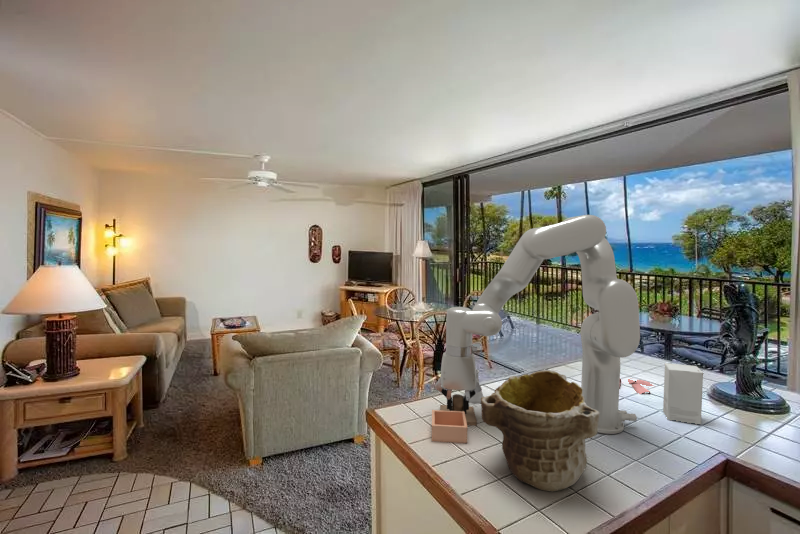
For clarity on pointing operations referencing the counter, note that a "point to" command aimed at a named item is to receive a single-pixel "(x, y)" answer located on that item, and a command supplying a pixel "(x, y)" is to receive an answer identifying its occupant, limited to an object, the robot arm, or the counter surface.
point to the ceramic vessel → (542, 428)
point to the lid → (461, 409)
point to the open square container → (449, 426)
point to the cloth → (639, 386)
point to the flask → (477, 397)
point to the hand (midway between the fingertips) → (457, 410)
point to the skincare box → (683, 393)
